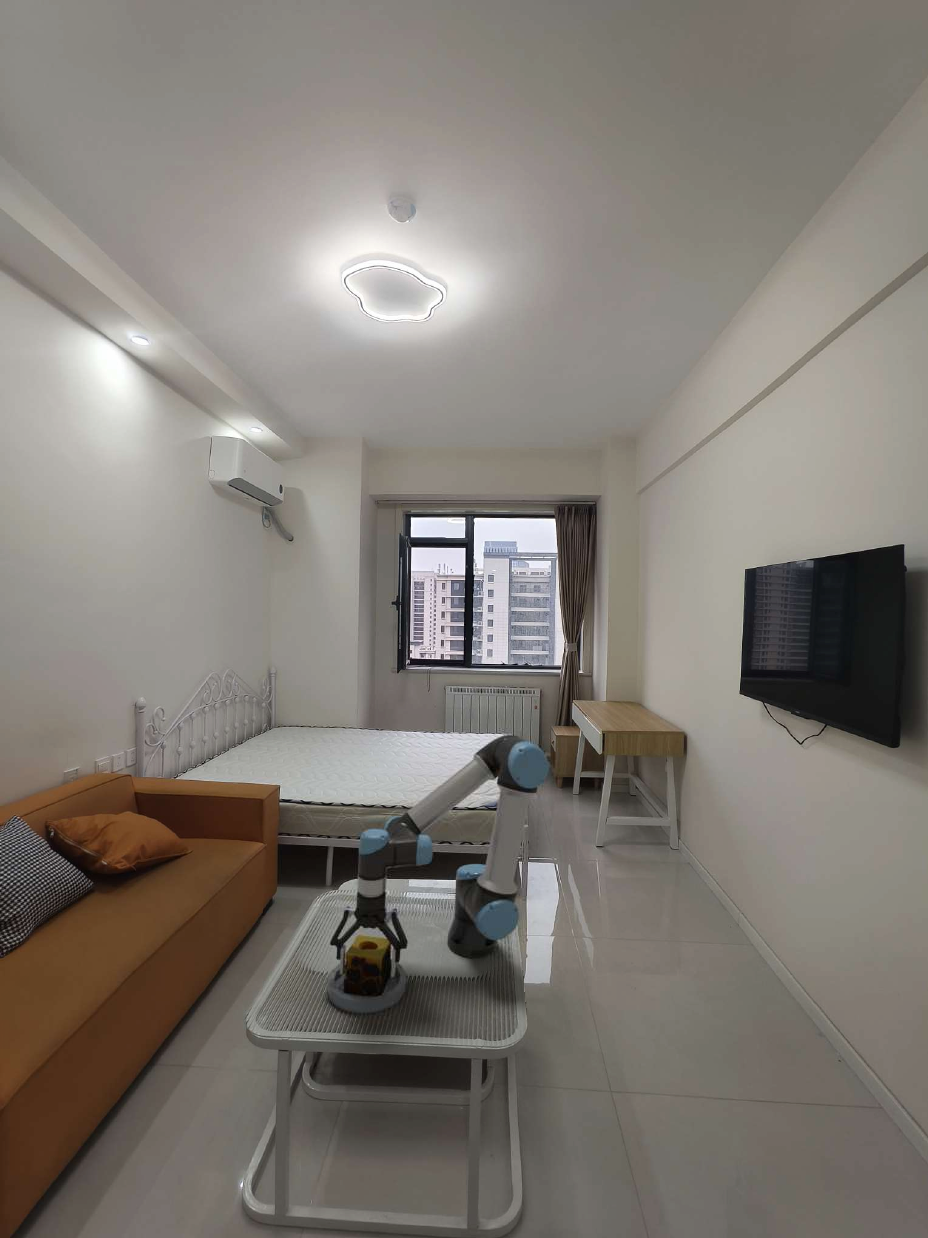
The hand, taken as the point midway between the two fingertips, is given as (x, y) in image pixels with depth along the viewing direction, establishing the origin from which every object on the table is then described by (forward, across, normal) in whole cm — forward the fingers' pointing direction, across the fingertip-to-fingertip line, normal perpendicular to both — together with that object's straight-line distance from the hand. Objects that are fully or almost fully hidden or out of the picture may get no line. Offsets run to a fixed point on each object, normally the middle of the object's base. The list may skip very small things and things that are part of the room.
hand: (367, 972), depth 154 cm
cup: (+4, +4, -37) cm, 37 cm away
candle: (+3, 0, 0) cm, 3 cm away
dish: (+4, 0, 0) cm, 4 cm away
